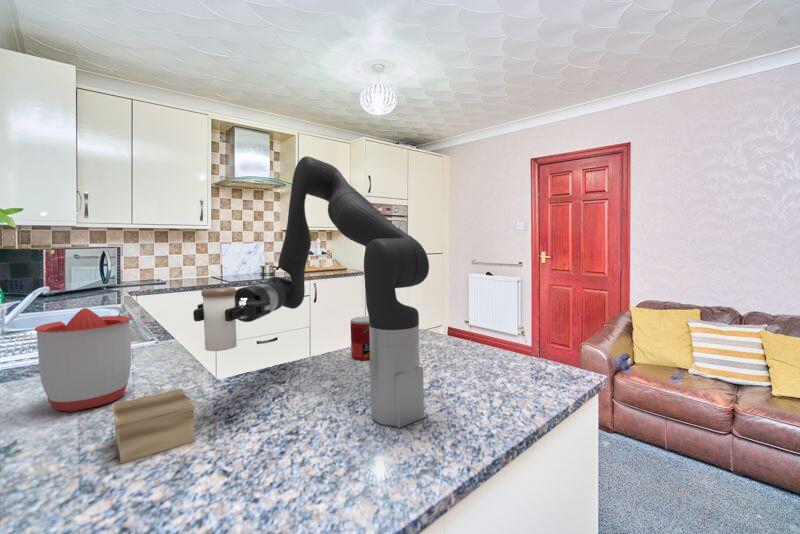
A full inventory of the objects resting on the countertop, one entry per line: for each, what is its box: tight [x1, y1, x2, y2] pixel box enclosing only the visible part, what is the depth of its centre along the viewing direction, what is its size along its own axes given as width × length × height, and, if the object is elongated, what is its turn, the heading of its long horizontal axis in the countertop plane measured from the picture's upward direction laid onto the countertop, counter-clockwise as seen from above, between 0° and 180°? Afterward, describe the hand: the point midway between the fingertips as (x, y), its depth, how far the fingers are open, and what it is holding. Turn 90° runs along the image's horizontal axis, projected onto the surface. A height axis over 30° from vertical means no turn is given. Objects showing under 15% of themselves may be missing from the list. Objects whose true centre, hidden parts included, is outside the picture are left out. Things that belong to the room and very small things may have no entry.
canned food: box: [350, 316, 370, 361], centre depth 111 cm, size 8×8×11 cm
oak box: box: [111, 388, 196, 464], centre depth 64 cm, size 10×10×6 cm
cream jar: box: [200, 287, 238, 352], centre depth 72 cm, size 6×6×11 cm
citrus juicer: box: [34, 307, 132, 413], centre depth 82 cm, size 16×17×20 cm
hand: (211, 315), depth 70 cm, fingers closed on cream jar, 5 cm apart
